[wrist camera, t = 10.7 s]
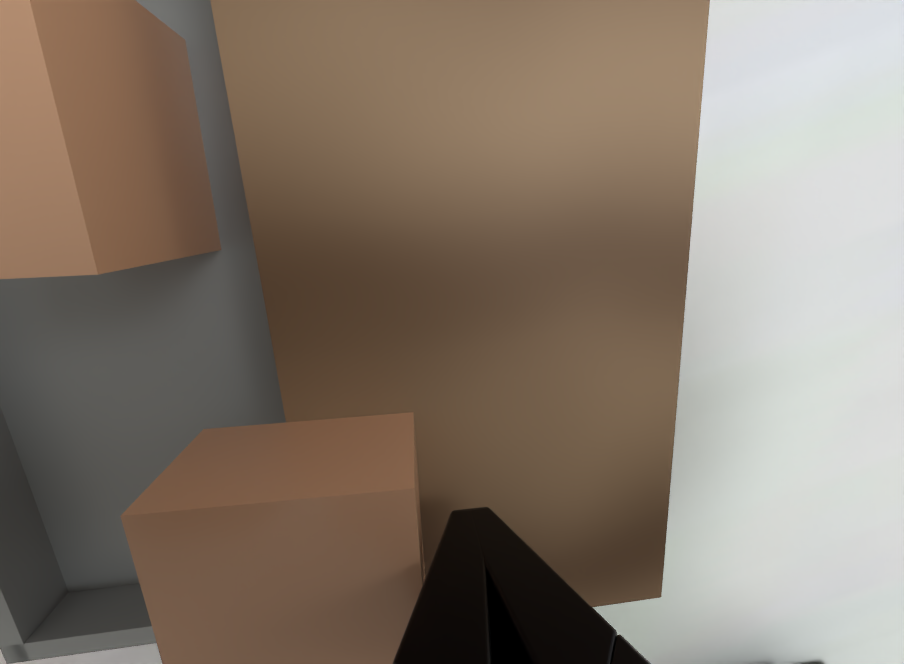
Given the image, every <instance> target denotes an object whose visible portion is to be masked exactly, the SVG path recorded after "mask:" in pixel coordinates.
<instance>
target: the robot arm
mask: <svg viewBox="0 0 904 664" xmlns="http://www.w3.org/2000/svg"><path fill="white" fill-rule="evenodd" d="M393 664H651V663H650V662H649V661H647V660H646V659H645V658H644V657H643V656H642V655H641V654H640V653H639V652H638V651H637V650H636V649H635V648H634V647H633V646H632V645H631V644H630V643H629V642H628V641H626V640H625V639H624V638H623V637H622V636H621V635H617V632H616V630H615V629H614V628H613V627H612V626H611V625H610V624H609V623H608V622H607V621H606V620H605V619H604V618H603V617H602V616H601V615H599V614H598V613H597V612H596V611H595V610H594V609H593V608H592V607H591V606H590V605H589V604H588V603H587V602H586V601H585V600H584V599H583V598H582V597H581V596H580V595H579V594H578V593H577V592H576V591H575V590H574V589H573V588H572V587H571V586H570V585H569V584H568V583H567V582H566V581H564V580H563V579H562V578H561V577H560V576H559V575H558V574H557V573H556V572H555V571H554V570H553V569H552V568H551V567H550V566H549V565H548V564H547V563H546V562H545V561H544V560H543V559H542V558H541V557H540V556H539V555H538V554H537V553H536V552H535V551H534V550H533V549H532V548H531V547H529V546H528V545H527V544H526V543H525V542H524V541H523V540H522V539H521V538H520V537H519V536H518V535H517V534H516V533H515V532H514V531H513V530H512V529H511V528H510V527H509V526H508V525H507V524H506V523H505V522H504V521H503V520H502V519H501V518H500V517H499V516H498V515H497V514H496V513H494V512H493V511H492V510H491V509H490V508H489V507H478V508H470V509H460V510H453V511H452V512H451V513H450V516H449V518H448V521H447V523H446V526H445V529H444V531H443V534H442V536H441V539H440V542H439V544H438V547H437V549H436V552H435V554H434V557H433V560H432V562H431V565H430V567H429V570H428V573H427V575H426V578H425V580H424V583H423V586H422V588H421V591H420V593H419V596H418V598H417V601H416V604H415V606H414V609H413V611H412V614H411V617H410V619H409V622H408V624H407V627H406V629H405V632H404V635H403V637H402V640H401V642H400V645H399V648H398V650H397V653H396V655H395V658H394V660H393Z"/></svg>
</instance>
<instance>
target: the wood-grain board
mask: <svg viewBox="0 0 904 664" xmlns="http://www.w3.org/2000/svg"><path fill="white" fill-rule="evenodd" d="M210 1H211V7H212V13H213V18H214V24H215V29H216V35H217V40H218V46H219V52H220V57H221V63H222V68H223V74H224V79H225V85H226V91H227V96H228V102H229V107H230V113H231V118H232V124H233V130H234V135H235V141H236V146H237V152H238V157H239V163H240V169H241V174H242V180H243V185H244V191H245V196H246V202H247V208H248V213H249V219H250V224H251V230H252V235H253V241H254V247H255V252H256V258H257V263H258V269H259V274H260V280H261V286H262V291H263V297H264V302H265V308H266V313H267V319H268V325H269V330H270V336H271V341H272V347H273V352H274V358H275V364H276V369H277V375H278V380H279V386H280V391H281V397H282V403H283V408H284V414H285V419H286V422H297V421H310V420H322V419H335V418H347V417H359V416H372V415H384V414H397V413H409V412H413V413H414V426H415V440H416V453H417V467H418V480H419V494H420V507H421V521H422V534H423V548H424V561H425V575H427V573H428V570H429V567H430V565H431V562H432V560H433V557H434V554H435V552H436V549H437V547H438V544H439V542H440V539H441V536H442V534H443V531H444V529H445V526H446V523H447V521H448V518H449V516H450V513H451V512H452V511H453V510H460V509H470V508H478V507H489V508H490V509H491V510H492V511H493V512H494V513H496V514H497V515H498V516H499V517H500V518H501V519H502V520H503V521H504V522H505V523H506V524H507V525H508V526H509V527H510V528H511V529H512V530H513V531H514V532H515V533H516V534H517V535H518V536H519V537H520V538H521V539H522V540H523V541H524V542H525V543H526V544H527V545H528V546H529V547H531V548H532V549H533V550H534V551H535V552H536V553H537V554H538V555H539V556H540V557H541V558H542V559H543V560H544V561H545V562H546V563H547V564H548V565H549V566H550V567H551V568H552V569H553V570H554V571H555V572H556V573H557V574H558V575H559V576H560V577H561V578H562V579H563V580H564V581H566V582H567V583H568V584H569V585H570V586H571V587H572V588H573V589H574V590H575V591H576V592H577V593H578V594H579V595H580V596H581V597H582V598H583V599H584V600H585V601H586V602H587V603H588V604H589V605H590V606H591V607H597V606H604V605H611V604H618V603H624V602H631V601H638V600H645V599H652V598H659V597H661V592H662V580H663V568H664V555H665V543H666V531H667V519H668V506H669V494H670V482H671V469H672V457H673V445H674V433H675V420H676V408H677V396H678V383H679V371H680V359H681V347H682V334H683V322H684V310H685V297H686V285H687V273H688V261H689V248H690V236H691V224H692V211H693V199H694V187H695V175H696V162H697V150H698V138H699V125H700V113H701V101H702V89H703V76H704V64H705V52H706V39H707V27H708V15H709V3H710V0H210Z"/></svg>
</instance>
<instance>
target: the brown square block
mask: <svg viewBox="0 0 904 664" xmlns="http://www.w3.org/2000/svg"><path fill="white" fill-rule="evenodd" d="M120 517H121V520H122V524H123V527H124V531H125V534H126V538H127V541H128V545H129V548H130V552H131V555H132V559H133V562H134V566H135V569H136V573H137V576H138V579H139V583H140V586H141V590H142V593H143V597H144V600H145V604H146V607H147V611H148V614H149V618H150V621H151V625H152V628H153V632H154V635H155V639H156V642H157V646H158V649H159V653H160V656H161V660H162V663H163V664H393V660H394V658H395V655H396V653H397V650H398V648H399V645H400V642H401V640H402V637H403V635H404V632H405V629H406V627H407V624H408V622H409V619H410V617H411V614H412V611H413V609H414V606H415V604H416V601H417V598H418V596H419V593H420V591H421V588H422V586H423V583H424V580H425V578H426V575H425V561H424V548H423V534H422V521H421V507H420V494H419V480H418V467H417V453H416V440H415V426H414V413H413V412H409V413H397V414H384V415H372V416H359V417H347V418H335V419H322V420H310V421H297V422H285V423H273V424H260V425H248V426H236V427H223V428H211V429H203V430H202V431H201V432H200V433H199V434H198V435H197V436H196V437H195V438H194V440H193V441H192V442H191V443H190V444H189V445H188V446H187V447H186V448H185V449H184V450H183V451H182V452H181V453H180V454H179V455H178V456H177V457H176V458H175V459H174V460H173V461H172V462H171V464H170V465H169V466H168V467H167V468H166V469H165V470H164V471H163V472H162V473H161V474H160V475H159V476H158V477H157V478H156V479H155V480H154V481H153V482H152V483H151V484H150V485H149V487H148V488H147V489H146V490H145V491H144V492H143V493H142V494H141V495H140V496H139V497H138V498H137V499H136V500H135V501H134V502H133V503H132V504H131V505H130V506H129V507H128V508H127V509H126V511H125V512H124V513H123V514H122V515H121V516H120Z"/></svg>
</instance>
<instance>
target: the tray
mask: <svg viewBox="0 0 904 664" xmlns="http://www.w3.org/2000/svg"><path fill="white" fill-rule="evenodd" d="M136 1H137V2H138V3H139V4H141V5H142V6H143V7H144V8H146V9H147V10H148V11H149V12H151V13H152V14H153V15H154V16H156V17H157V18H158V19H160V20H161V21H162V22H163V23H165V24H166V25H167V26H168V27H170V28H171V29H172V30H173V31H175V32H176V33H177V34H178V35H180V36H181V37H182V38H184V39H185V41H186V47H187V53H188V59H189V64H190V70H191V76H192V82H193V87H194V93H195V99H196V105H197V111H198V116H199V122H200V128H201V134H202V140H203V145H204V151H205V157H206V163H207V169H208V174H209V180H210V186H211V192H212V197H213V203H214V209H215V215H216V221H217V226H218V232H219V238H220V244H221V250H219V251H214V252H209V253H204V254H199V255H194V256H189V257H184V258H179V259H174V260H169V261H164V262H159V263H154V264H149V265H144V266H139V267H134V268H129V269H124V270H119V271H114V272H109V273H104V274H99V275H79V276H58V277H36V278H15V279H0V649H1V651H2V654H3V656H4V658H5V660H6V663H7V664H9V663H17V662H24V661H31V660H38V659H45V658H52V657H59V656H67V655H74V654H81V653H88V652H95V651H102V650H109V649H117V648H124V647H131V646H138V645H145V644H152V643H157V642H156V639H155V635H154V632H153V628H152V625H151V621H150V618H149V614H148V611H147V607H146V604H145V600H144V597H143V593H142V590H141V586H140V583H139V579H138V576H137V573H136V569H135V566H134V562H133V559H132V555H131V552H130V548H129V545H128V541H127V538H126V534H125V531H124V527H123V524H122V520H121V517H120V516H121V515H122V514H123V513H124V512H125V511H126V509H127V508H128V507H129V506H130V505H131V504H132V503H133V502H134V501H135V500H136V499H137V498H138V497H139V496H140V495H141V494H142V493H143V492H144V491H145V490H146V489H147V488H148V487H149V485H150V484H151V483H152V482H153V481H154V480H155V479H156V478H157V477H158V476H159V475H160V474H161V473H162V472H163V471H164V470H165V469H166V468H167V467H168V466H169V465H170V464H171V462H172V461H173V460H174V459H175V458H176V457H177V456H178V455H179V454H180V453H181V452H182V451H183V450H184V449H185V448H186V447H187V446H188V445H189V444H190V443H191V442H192V441H193V440H194V438H195V437H196V436H197V435H198V434H199V433H200V432H201V431H202V430H203V429H211V428H223V427H236V426H248V425H260V424H273V423H285V422H286V419H285V414H284V408H283V403H282V397H281V391H280V386H279V380H278V375H277V369H276V364H275V358H274V352H273V347H272V341H271V336H270V330H269V325H268V319H267V313H266V308H265V302H264V297H263V291H262V286H261V280H260V274H259V269H258V263H257V258H256V252H255V247H254V241H253V235H252V230H251V224H250V219H249V213H248V208H247V202H246V196H245V191H244V185H243V180H242V174H241V169H240V163H239V157H238V152H237V146H236V141H235V135H234V130H233V124H232V118H231V113H230V107H229V102H228V96H227V91H226V85H225V79H224V74H223V68H222V63H221V57H220V52H219V46H218V40H217V35H216V29H215V24H214V18H213V13H212V7H211V1H210V0H136Z"/></svg>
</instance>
